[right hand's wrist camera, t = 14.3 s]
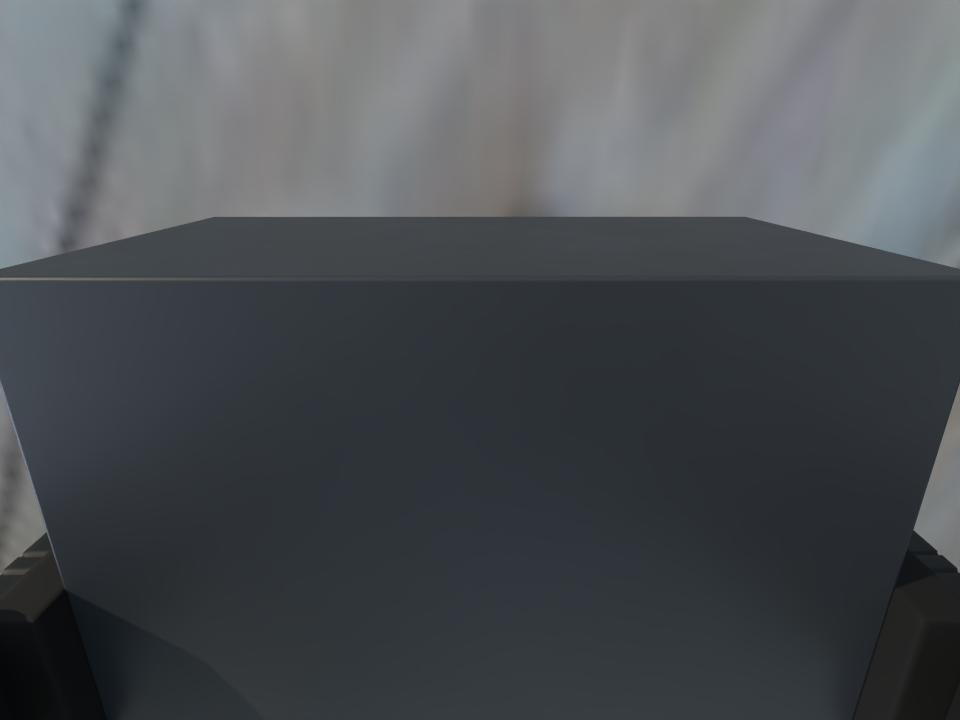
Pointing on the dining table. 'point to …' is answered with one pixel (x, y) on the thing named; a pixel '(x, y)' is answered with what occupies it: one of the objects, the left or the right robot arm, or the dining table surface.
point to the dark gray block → (479, 463)
